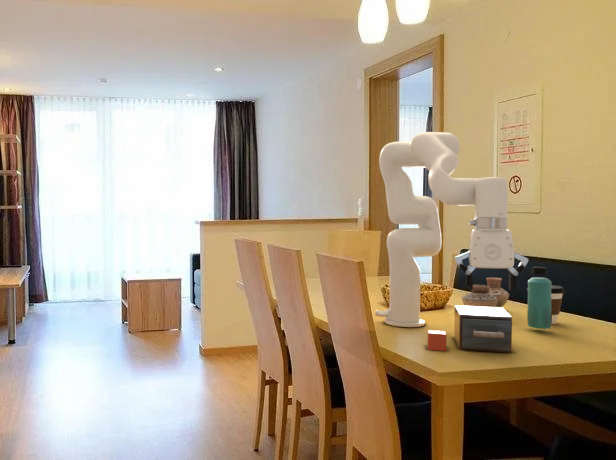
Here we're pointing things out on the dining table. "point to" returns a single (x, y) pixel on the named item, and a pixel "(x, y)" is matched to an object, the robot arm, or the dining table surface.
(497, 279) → the pottery
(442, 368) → the dining table surface
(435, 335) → the block
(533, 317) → the beverage bottle
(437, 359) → the dining table surface
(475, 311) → the cabinet
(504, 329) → the drawer
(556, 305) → the coffee cup
